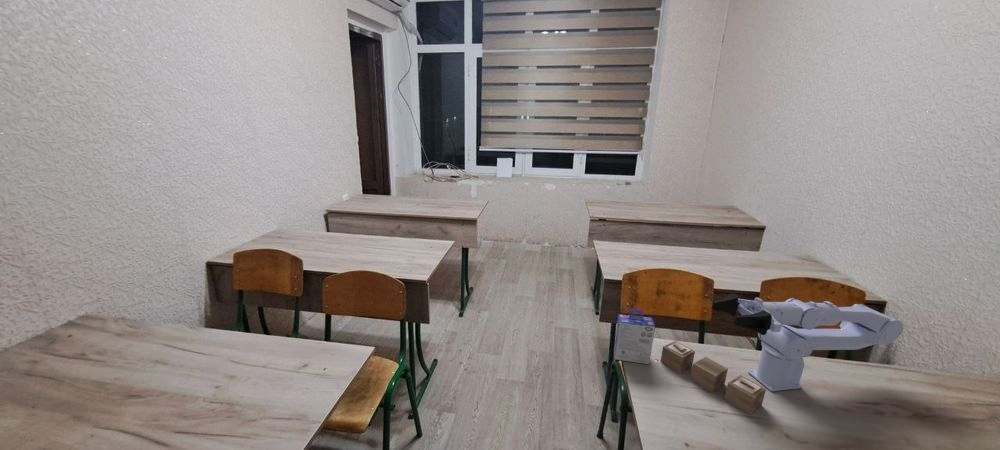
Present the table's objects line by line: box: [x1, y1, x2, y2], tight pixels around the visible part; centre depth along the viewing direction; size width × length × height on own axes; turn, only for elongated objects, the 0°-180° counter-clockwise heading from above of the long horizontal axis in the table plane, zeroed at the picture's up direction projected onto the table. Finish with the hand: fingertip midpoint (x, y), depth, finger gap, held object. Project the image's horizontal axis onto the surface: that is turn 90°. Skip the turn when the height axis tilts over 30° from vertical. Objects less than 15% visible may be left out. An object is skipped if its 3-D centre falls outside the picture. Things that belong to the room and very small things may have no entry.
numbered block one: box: [723, 374, 767, 416], centre depth 94 cm, size 6×6×5 cm
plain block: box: [689, 356, 729, 393], centre depth 101 cm, size 6×6×5 cm
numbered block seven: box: [660, 340, 696, 374], centre depth 108 cm, size 6×6×5 cm
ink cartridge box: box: [613, 308, 656, 365], centre depth 110 cm, size 10×6×14 cm, turn 78°
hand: (724, 313), depth 94 cm, fingers open, 7 cm apart
